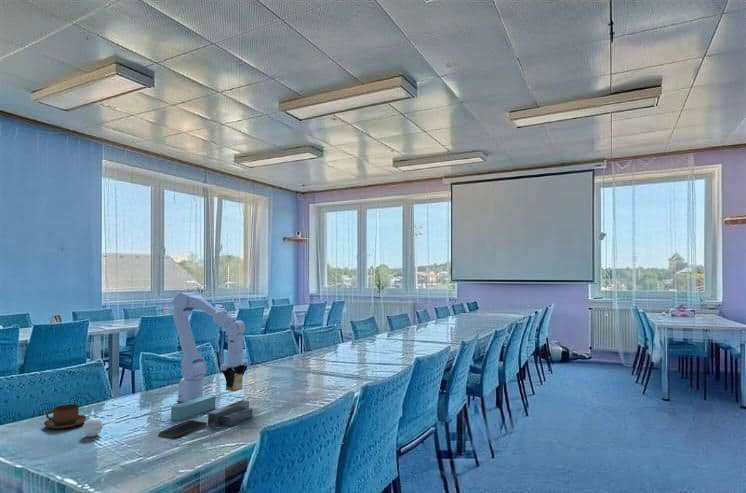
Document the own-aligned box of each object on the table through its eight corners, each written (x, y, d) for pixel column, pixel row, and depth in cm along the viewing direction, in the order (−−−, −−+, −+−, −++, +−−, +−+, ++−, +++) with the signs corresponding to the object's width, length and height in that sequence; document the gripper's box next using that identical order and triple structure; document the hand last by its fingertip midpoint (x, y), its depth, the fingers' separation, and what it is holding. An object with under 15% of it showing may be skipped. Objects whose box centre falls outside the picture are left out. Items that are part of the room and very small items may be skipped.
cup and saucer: (41, 433, 155) (42, 414, 155) (46, 423, 165) (47, 404, 166) (84, 428, 160) (85, 409, 160) (87, 418, 171) (87, 401, 171)
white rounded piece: (87, 440, 149) (88, 422, 149) (78, 437, 152) (79, 419, 152) (112, 433, 155) (113, 416, 155) (102, 430, 158) (103, 413, 158)
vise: (207, 425, 164) (208, 412, 164) (242, 412, 181) (242, 400, 181) (224, 428, 161) (224, 415, 162) (257, 414, 178) (257, 402, 178)
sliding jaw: (170, 419, 171) (171, 406, 171) (207, 406, 188) (207, 394, 188) (179, 420, 169) (179, 407, 170) (215, 407, 186) (215, 395, 186)
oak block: (225, 390, 190) (226, 374, 191) (233, 387, 194) (233, 372, 195) (234, 391, 188) (235, 376, 189) (242, 389, 193) (242, 373, 193)
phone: (156, 433, 154) (190, 420, 168) (156, 437, 154) (190, 423, 168) (176, 436, 151) (208, 422, 165) (176, 440, 151) (208, 426, 165)
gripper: (230, 354, 184) (229, 390, 183) (254, 349, 197) (253, 382, 196) (216, 353, 187) (215, 388, 186) (240, 348, 200) (239, 381, 199)
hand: (234, 385), depth 191 cm, fingers closed on oak block, 4 cm apart
